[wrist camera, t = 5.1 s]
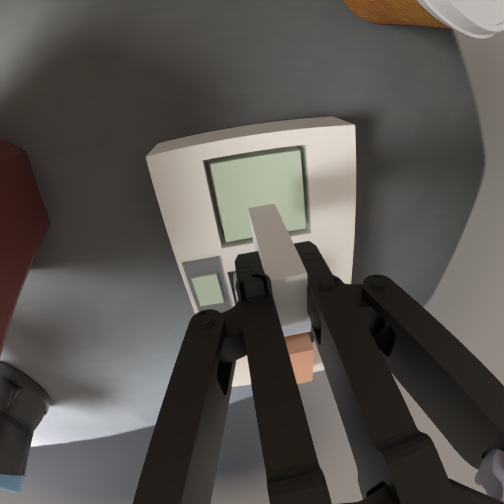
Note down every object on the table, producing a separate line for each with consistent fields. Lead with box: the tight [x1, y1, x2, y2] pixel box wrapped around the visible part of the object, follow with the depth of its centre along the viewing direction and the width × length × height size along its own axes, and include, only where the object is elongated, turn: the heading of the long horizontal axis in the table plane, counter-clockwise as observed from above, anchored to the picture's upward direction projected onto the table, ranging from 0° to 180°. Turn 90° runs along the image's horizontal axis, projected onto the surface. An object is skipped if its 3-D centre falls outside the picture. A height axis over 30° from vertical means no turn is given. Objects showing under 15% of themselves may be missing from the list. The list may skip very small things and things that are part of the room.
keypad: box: [146, 116, 356, 387], centre depth 27 cm, size 14×27×5 cm, turn 8°
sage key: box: [210, 146, 306, 242], centre depth 21 cm, size 6×6×2 cm
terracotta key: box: [284, 332, 314, 384], centre depth 29 cm, size 6×6×2 cm
